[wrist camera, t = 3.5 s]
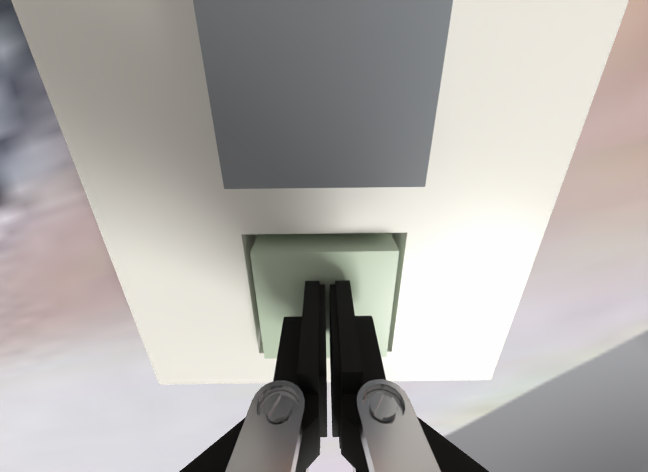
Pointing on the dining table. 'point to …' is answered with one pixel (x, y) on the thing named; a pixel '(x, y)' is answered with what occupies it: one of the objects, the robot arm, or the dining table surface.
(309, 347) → the robot arm
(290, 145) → the charcoal key
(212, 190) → the keypad
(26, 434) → the dining table surface
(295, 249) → the sage key
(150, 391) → the dining table surface
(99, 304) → the dining table surface
